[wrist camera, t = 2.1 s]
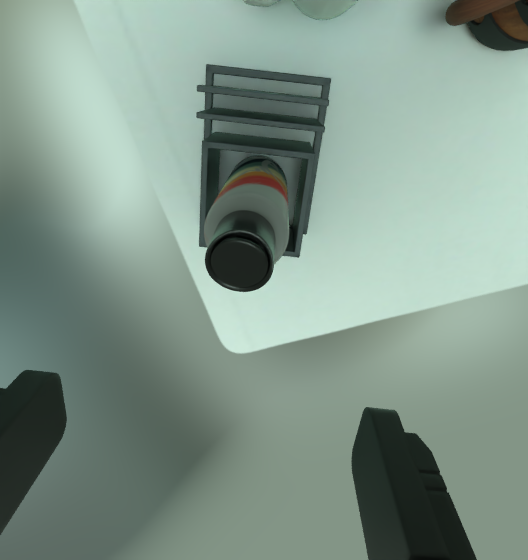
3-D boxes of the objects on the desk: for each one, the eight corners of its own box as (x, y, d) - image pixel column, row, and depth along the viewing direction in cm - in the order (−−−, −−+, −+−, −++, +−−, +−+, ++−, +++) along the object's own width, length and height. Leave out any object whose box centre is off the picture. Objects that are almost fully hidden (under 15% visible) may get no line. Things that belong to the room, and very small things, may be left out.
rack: (207, 64, 34) (187, 58, 27) (330, 78, 35) (343, 76, 27) (202, 221, 41) (185, 249, 34) (306, 232, 41) (311, 263, 34)
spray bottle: (295, 167, 38) (307, 237, 20) (274, 219, 40) (269, 324, 23) (240, 146, 37) (202, 199, 19) (222, 200, 40) (174, 292, 22)
